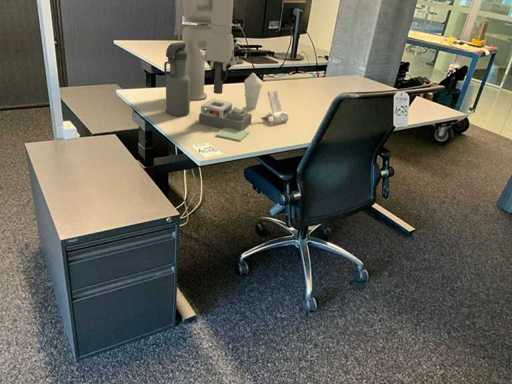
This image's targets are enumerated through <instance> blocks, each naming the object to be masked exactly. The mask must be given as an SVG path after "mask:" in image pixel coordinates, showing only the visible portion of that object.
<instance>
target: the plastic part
mask: <svg viewBox="0 0 512 384" xmlns="http://www.w3.org/2000/svg"><path fill="white" fill-rule="evenodd" d="M267 96H268V99H269V100H268V101H269V105H270V108H271V110H270V111H271V112H272V113H271V112H268V114H264V116H262V117H260V119H265V118H270V117H272V118H273V121H270V123H269V124H271V123H272V125H278V124H283V123H287V122H288V121H289V114H288V113H287V112H286V111H285V110H284V111H283V109H282V105H281V102H280V99H279V95H278V90H275V91H267Z"/></svg>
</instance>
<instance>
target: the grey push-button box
mask: <svg viewBox="0 0 512 384" xmlns="http://www.w3.org/2000/svg"><path fill="white" fill-rule="evenodd" d="M212 110H216V111H219V115H217V114H212ZM233 110H234V108H233V102H231V101H230V102H229V101H226V100H225V101H224V100H221V99H220V100H219V99H215V98H214V99H213V98H212V99H210V100H208V101H206V102H205V103H203V104H201V105H200V113H199V114H198V124H199V125H203V126H208V127H213V128H217V129H221V130H222V129H223V128H229V129H234V130H239V131H242V130H243V131H245V130H246V129H247V128H248V127H249V126H250V125H251V123H252V116H253V115H252V114H251V113H248V110H243V111H242V114H235V113H233Z"/></svg>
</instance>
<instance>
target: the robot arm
mask: <svg viewBox="0 0 512 384" xmlns="http://www.w3.org/2000/svg"><path fill="white" fill-rule="evenodd" d="M182 7H183V16H184V19H185V21H186V22H188V23H190V24H205V25H207V26H204V25H188V26H185V27H184V28H183V30H182V33H181V34H182V35H181V37H182V38H181V39H182V43H186V47H185V51H186V52H187V70H186V75H187V76H188V77H189V78H190V101H200V100H206V99H207V97H208V95H207V93H206V92H205V91H204V90H205V73H206V72H205V71H206V69H205V67H206V64H207V65H208V66H209V68H210V77H211V80H213V81H214V74H215V62H221V63H223V71H222V73H221V81H223V82H224V81H226V80H227V77H228V70H229V69H231V67H233V66H235V65H237V61H236V59H235V56H234V55H235V52H234V51H235V44H234V42H235V41H234V35H233V34H232V30H233V29H232V28H233V13H234V12H233V11H234V10H233V9H234V0H182ZM203 49H205V53H204V54H203V53H202V52H201V51H200V50H203Z"/></svg>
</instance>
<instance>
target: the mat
mask: <svg viewBox="0 0 512 384" xmlns="http://www.w3.org/2000/svg"><path fill="white" fill-rule="evenodd" d="M249 134H250V131H247V130H242V131H239V130H234V129H229V128H223V129H222V128H221V130H219V131H218V132H216V134H215V137H219V138H223V139H228V140H233V141H235V142H242V140H244V139H245V138H246V137H247V136H248V135H249Z"/></svg>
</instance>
